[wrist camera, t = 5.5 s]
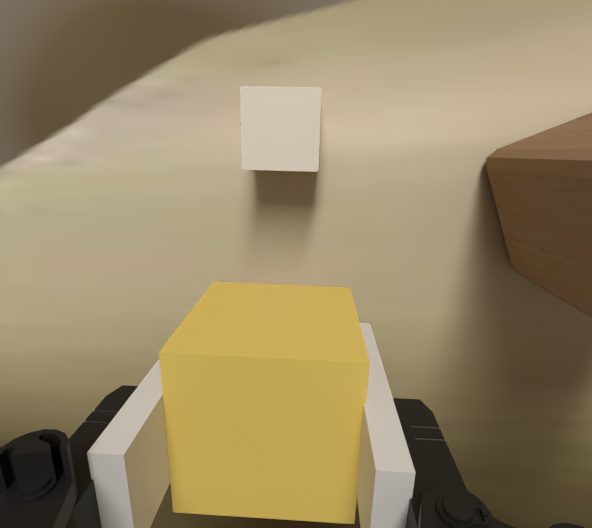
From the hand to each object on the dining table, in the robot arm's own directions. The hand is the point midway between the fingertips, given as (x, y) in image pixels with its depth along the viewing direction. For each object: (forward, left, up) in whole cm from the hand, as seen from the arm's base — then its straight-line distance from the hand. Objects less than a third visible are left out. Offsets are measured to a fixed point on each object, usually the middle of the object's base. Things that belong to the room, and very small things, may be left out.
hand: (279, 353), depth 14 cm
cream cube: (+6, +6, -18) cm, 20 cm away
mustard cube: (0, 0, 0) cm, 0 cm away
